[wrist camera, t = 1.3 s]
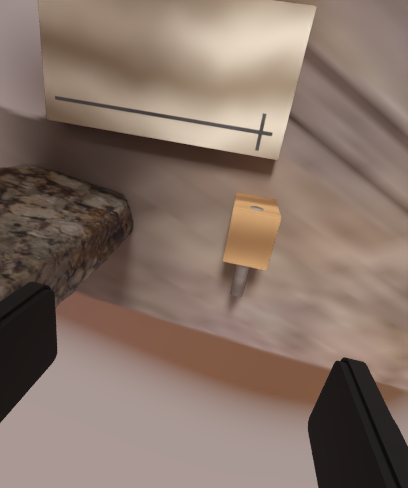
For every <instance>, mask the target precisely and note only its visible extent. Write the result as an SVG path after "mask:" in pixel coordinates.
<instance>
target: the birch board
mask: <svg viewBox="0 0 408 488" xmlns="http://www.w3.org/2000/svg"><path fill="white" fill-rule="evenodd" d="M38 8H39V22H40V36H41V49H42V61H43V62H42V63H43V76H44V90H45V103H46V118H47V120H53V121H58V122H64V123H70V124H75V125H81V126H87V127H92V128H98V129H104V130H109V131H115V132H121V133H126V134H132V135H138V136H143V137H149V138H155V139H161V140H166V141H172V142H178V143H183V144H189V145H195V146H200V147H206V148H212V149H217V150H223V151H229V152H234V153H240V154H246V155H251V156H257V157H263V158H268V159H274V160H278V157H279V153H280V149H281V145H282V141H283V137H284V133H285V129H286V126H287V122H288V118H289V114H290V110H291V106H292V102H293V98H294V94H295V90H296V86H297V82H298V78H299V74H300V70H301V66H302V62H303V58H304V54H305V50H306V46H307V42H308V38H309V34H310V30H311V26H312V22H313V18H314V14H315V10H316V6H311V5H303V4H296V3H288V2H281V1H273V0H38Z"/></svg>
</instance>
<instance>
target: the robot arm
mask: <svg viewBox="0 0 408 488" xmlns="http://www.w3.org/2000/svg"><path fill="white" fill-rule="evenodd" d="M56 355H57V335H56V314H55V294H54V292H53V291H51V287H50V286H48V285H45V284H41V283H37V282H29V283H27V284H25V285H24V286H22V287H21V288H19V289H18V290H16V291H15V292H13V293H12V294H10V295H9V296H7V297H6V298H4V299H3V300H1V301H0V422H1V421H2V420H3V419H4V418H5V417H6V416H7V414H8V413H9V412H10V411H11V410H12V409H13V407H14V406H15V405H16V404H17V403H18V402H19V401H20V400H21V398H22V397H23V396H24V395H25V394H26V393H27V392H28V390H29V389H30V388H31V387H32V386H33V385H34V384H35V382H36V381H37V380H38V379H39V378H40V377H41V375H42V374H43V373H44V372H45V371H46V370H47V369H48V367H49V366H50V365H51V364H52V363H53V361H54V359H55V358H56ZM308 432H309V438H310V444H311V449H312V455H313V460H314V465H315V471H316V477H317V482H318V487H319V488H408V446H407V444H406V442H405V440H404V438H403V436H402V434H401V432H400V430H399V428H398V426H397V424H396V423H395V421H394V420H393V418H392V416H391V414H390V412H389V410H388V408H387V406H386V404H385V402H384V400H383V398H382V395H381V393H380V391H379V389H378V387H377V385H376V383H375V381H374V379H373V377H372V375H371V373H370V371H369V369H368V367H367V365H366V364H365V363H364V362H361V361H357V360H353V359H349V358H342V359H341V361H336V362H335V363H334V365H333V367H332V369H331V372H330V374H329V376H328V378H327V380H326V383H325V385H324V387H323V389H322V391H321V393H320V396H319V398H318V400H317V402H316V404H315V406H314V409H313V411H312V413H311V415H310V417H309V421H308Z"/></svg>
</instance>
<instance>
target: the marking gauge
mask: <svg viewBox="0 0 408 488" xmlns="http://www.w3.org/2000/svg"><path fill="white" fill-rule="evenodd" d="M280 221H281V215H280V212H279V209H278V205H277V202H276V200H274V199H269V198H264V197H258V196H253V195H247V194H242V193H236V198H235V203H234V208H233V213H232V218H231V223H230V228H229V233H228V237H227V242H226V247H225V252H224V257H223V262H228V263H233V264H237V267H236V271H235V275H234V280H233V284H232V289H231V294H232V295H233V296H235V297H241V296H242V295H243V291H244V287H245V283H246V279H247V275H248V271H249V267H252V268H257V269H262V270H266V271H267V268H268V264H269V261H270V257H271V253H272V250H273V246H274V243H275V239H276V236H277V232H278V228H279V225H280Z"/></svg>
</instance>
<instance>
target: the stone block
mask: <svg viewBox="0 0 408 488" xmlns="http://www.w3.org/2000/svg"><path fill="white" fill-rule="evenodd" d="M132 225H133V220H132V216H131V213H130V210H129V206H128V205H127V200H126V199H125V198H124V196H123V195H122V194H120V193H118V192H116V191H113V190H110V189H106V188H102V187H98V186H96V185H93V184H90V183H87V182H84V181H81V180H78V179H75V178H72V177H69V176H66V175H63V174H61V173H58V172H54V171H50V170H46V169H42V168H40V167H37V166H34V165H31V164H27V165H19V166H15V167H9V168H0V301H1V300H3V299H4V298H6V297H7V296H9V295H10V294H12V293H13V292H15V291H16V290H18V289H19V288H21V287H22V286H24V285H25V284H27V283H29V282H37V283H41V284H45V285H48V286H50V287H51V291H53V292H54V294H55V308H56V307H57V305H58V304H59V303H60V302H61V301H63V300H64V299H65V298H67V297H68V296H70V295H71V294H72V293H73V292H74V291H75V289H76V287H77V286H78V284H80V283H81V282H83V281H84V280H86V279H87V278H88V277H89V276H90V275H91V273H92V272H93V271H94V270H96V269H97V268H98V267H99V266H100V265H101V264H102V263H103V262H104V261H106V260H107V258H108V257H109V256H110V255H111V253H112V252H113V251H114V250H115V249H117V248H118V247H119V245H120V244H121V243H122V242H123V241H124V239H125V238H126V237H127V236H128V235H129V234H130V232H131V229H132Z"/></svg>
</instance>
